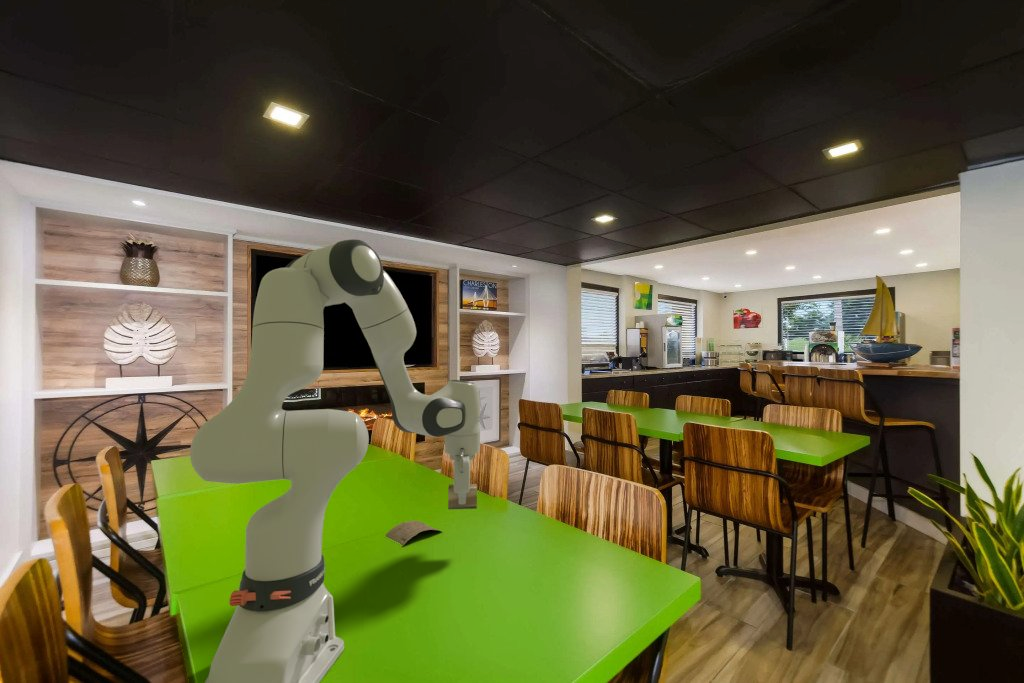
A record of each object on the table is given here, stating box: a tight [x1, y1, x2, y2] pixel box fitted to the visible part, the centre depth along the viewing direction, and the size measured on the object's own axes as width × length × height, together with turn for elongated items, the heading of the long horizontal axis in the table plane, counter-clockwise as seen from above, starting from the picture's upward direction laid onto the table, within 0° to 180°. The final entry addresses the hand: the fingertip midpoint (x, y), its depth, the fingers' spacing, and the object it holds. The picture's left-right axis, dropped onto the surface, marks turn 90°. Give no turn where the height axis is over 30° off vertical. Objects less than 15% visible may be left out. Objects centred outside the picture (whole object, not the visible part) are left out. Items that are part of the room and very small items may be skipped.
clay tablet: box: [385, 520, 440, 547], centre depth 119 cm, size 14×10×3 cm
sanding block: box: [447, 483, 478, 510], centre depth 110 cm, size 4×7×5 cm, turn 96°
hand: (462, 500), depth 110 cm, fingers closed on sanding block, 3 cm apart
